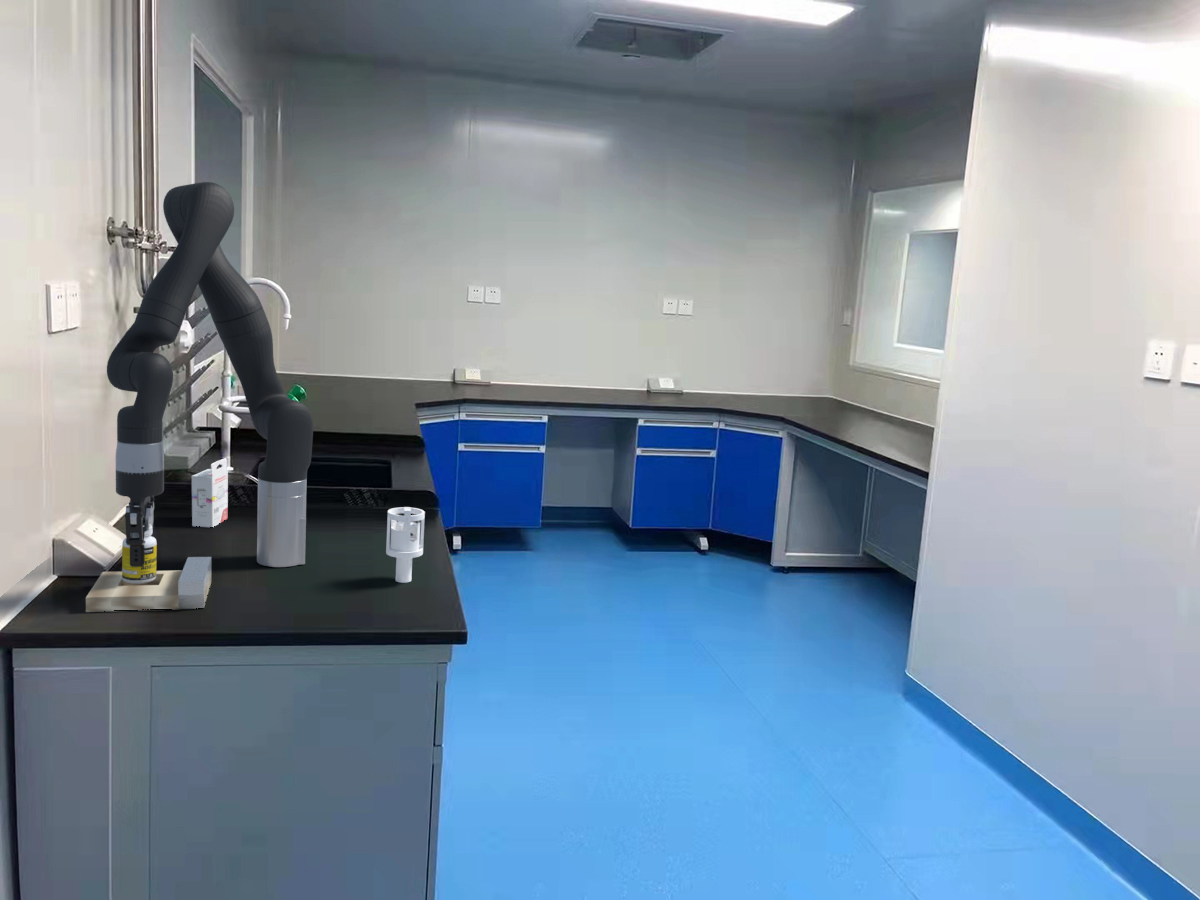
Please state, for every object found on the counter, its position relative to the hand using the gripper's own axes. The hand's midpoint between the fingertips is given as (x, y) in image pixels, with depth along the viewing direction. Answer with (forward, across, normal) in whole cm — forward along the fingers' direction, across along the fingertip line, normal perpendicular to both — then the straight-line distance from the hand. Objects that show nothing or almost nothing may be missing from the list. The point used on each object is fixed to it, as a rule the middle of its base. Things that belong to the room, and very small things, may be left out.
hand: (140, 560), depth 163 cm
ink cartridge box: (+6, +49, -7) cm, 50 cm away
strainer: (+6, +4, -46) cm, 47 cm away
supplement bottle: (+4, 0, 0) cm, 4 cm away
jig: (+6, -2, -2) cm, 7 cm away
